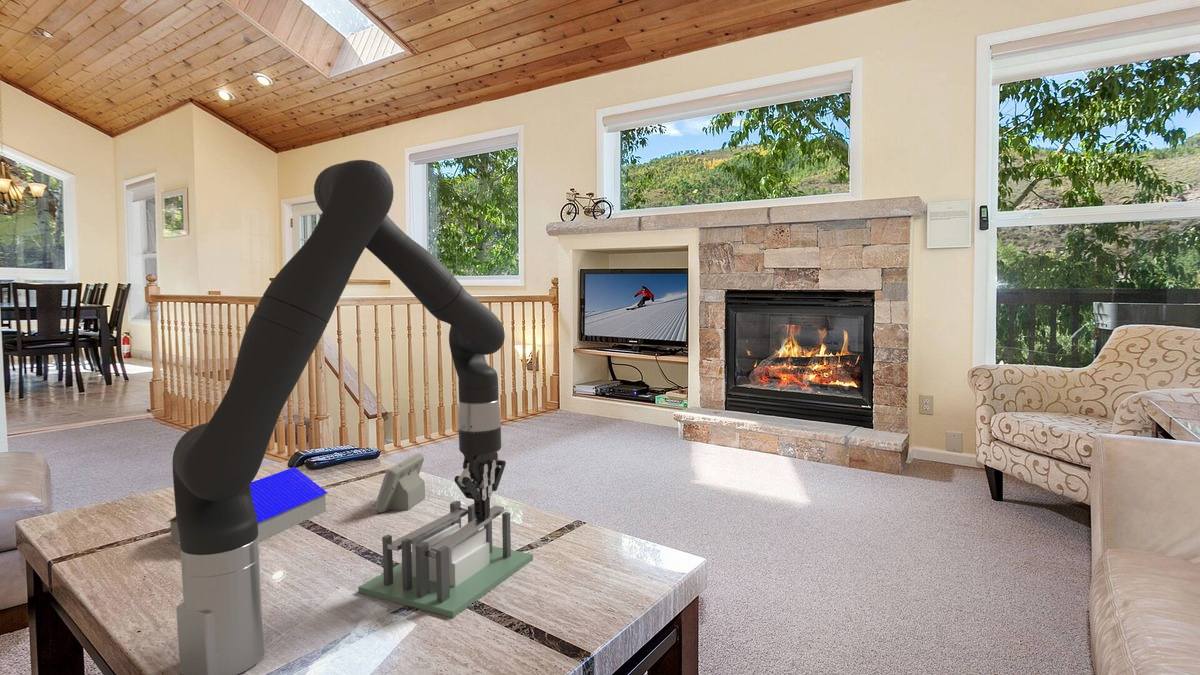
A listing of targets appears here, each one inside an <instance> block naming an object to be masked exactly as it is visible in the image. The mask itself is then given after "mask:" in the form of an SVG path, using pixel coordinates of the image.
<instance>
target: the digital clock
mask: <svg viewBox="0 0 1200 675" xmlns="http://www.w3.org/2000/svg"><path fill="white" fill-rule="evenodd" d="M424 459H425V457H424V454H422V453H420V452H418V453H413V454H412V455H410V456H408V457H406V458H405V459H403V460H401V461H400V462H397V463H396V464H393V465H392V466H390V467H389V468H387V470H386V471H385V473H384V477H383V479H382V483H381V486H380V489H379V493H378V494H377V495H378V496H377V497H376V501H375V504H374V509H375V511H376V513H385V512H386V511H388V510H393V511H394V510H395V511H397V510H398V511H409V510H410V509H412V508H414V506H416V505H417V504H418V503H420V502H422V501H423V500H424V499H425V498H426V484H425V480H424V479H423V478H421V476H420V472H421V470H422V468H423V467H422V466H423V463H424V461H425V460H424Z"/></svg>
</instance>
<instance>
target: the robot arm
mask: <svg viewBox="0 0 1200 675" xmlns="http://www.w3.org/2000/svg"><path fill="white" fill-rule="evenodd" d="M394 194H395V193H394V185H393V182H392V179H391V176H390V174H389V173H388V171H386V169H385V168H384V167H383V165H381V164H379V163H377V162H375V161H373V160H367V159H353V160H348V161H344V162H341V163H336V164H333V165H330V166H328V167H326V168H324V169H323V170H321V172H320V173H319V174H318V175H317V177H316V179H315V181H314V185H313V196H314V199H315V201H316V205H317V206H318V208H319V209H320V211H321V212H322V213H321V216H320V217H319V219H318V222H317V224H316V226H315V227H314V229H313V231H312V233H311V234H310V235H309V237H308V239H307V240H306V241H305V242H304V244H303V245H302V246H301V247H300V248H299V250H297V252H296V253H295V254H293V256H292V257H291V258H290V259H289V260H288V261H287V263H286V264H285V265H284V266H283V267H281V269H280V270H279V272H278V273H277V274H276V275H275V276H274V278H273V279H272V280H271V282H270V283H269V285H268V286H267V288H266V290H265V291H264V293H263V296H261V297H260V298H261V299H260V300H259V302H258V304H257V306H256V307H255V309H254V312H253V313H252V316H251V317H250V319H249V322H248V323H247V326H246V327H245V329H244V333H243V337H242V340H241V343H240V346H239V349H238V354H237V358H236V361H235V366H234V370H233V374H232V377H231V380H230V382H229V385H228V388H227V390H226V392H225V394H224V396H223V398H222V399H221V401H220V403H219V405H218V406H217V409H216V410H215V412H214V414H212V416H211V418H210V420H209V421H208V422H206V423H201V424H198V425H196V426H194V427H192V428H191V429H189V430H188V431H186V432H185V433H184V434H183V435H182V436H181V437H180V439H179V440H178V441H177V443H176V445H175V447H174V451H173V454H172V463H171V464H172V479H173V482H172V483H173V494H174V495H173V496H174V504H175V505H174V506H175V516H176V520H177V526H178V531H179V537H180V543H179V548H180V563H181V564H180V565H181V566H180V567H181V581H182V582H181V583H182V598H183V601H182V603H179V604H178V605H177V606H176V609H175V610H176V623H177V624H176V625H177V626H176V627H177V639H178V640H177V641H178V658H179V673H180V674H181V675H239V674H242V673H243V672H246V671H247V670H249V669H251V668H253V667H254V666H255V665H256V664H258V663H259V662H260V661H261V660H262V658H263V656H264V653H265V648H264V647H265V646H264V645H265V644H264V643H265V642H264V628H263V625H264V623H263V609H262V608H263V603H262V586H261V584H262V583H261V568H260V567H261V565H260V546H259V543H260V542H259V541H258V520H257V515H256V512H255V509H254V505H253V501H252V495H251V484H250V483H251V482H254V480H255V478H256V476H257V474H258V473H259V470H260V468H261V467H262V466H261V465H262V463H263V460H264V457H265V454H266V453H267V449H268V446H269V444H270V441H271V438H272V435H273V433H274V430H275V428H276V425H277V422H278V419H279V417H280V415H281V412H282V410H283V408H284V406H285V405H286V403H287V401H288V399H289V397H290V396H291V394H292V392H293V390H294V388H295V387H296V384H297V383H298V382H299V380H300V379H301V378H300V377H301V376H302V374H303V372H304V370H305V368H306V366H307V364H308V362H309V360H310V358H311V356H312V354H313V353H314V351H315V350H316V349H317V348H316V347H317V346H318V343H319V342H320V340H321V338H322V336H323V335H324V332H325V330H326V328H327V326H328V324H329V322H330V320H331V317H332V315H333V312H334V311H335V308H336V306H337V305H338V303H339V301H340V299H341V297H342V294H343V292H344V290H345V288H346V286H347V285H348V282H349V280H350V278H351V276H352V273H353V271H354V269H355V267H356V265H357V263H358V261H359V259H360V258H361V256H362V254H363V252H364V250H365V249H367V250H368V251H369V252H370V253H371V254H372V255H374V256H375V257H376V258H377V259H378V260H379V261H380V262H381V263H382V264H383V265H384V266H385V267H387V269H389V270H390V272H392V274H394V275H395V277H396V278H397V279H398V280H399V281H400V282H401V283H403V285H405V287H406V288H407V290H409V291H410V292H411V293H412V294H413V295H414V296H415V298H416V299H417V300H418V301H419V302H420V303H421V305H422V306H423V307H424V308H425V309H426V310H427V311H428V312H429V313H430V315H432V316H433V317H434V318H436V319H437V320H438V321H441V322H444V323H446V324H449V325H450V327H449V331H448V332H449V333H448V343H449V349H450V354H451V358H452V362H453V364H454V365H453V366H454V368H455V371H456V374H457V378H458V379H457V380H458V410H457V411H458V412H457V426H458V449H459V451H460V453H461V454H462V455H463V456H464V459H463V462H462V469H463V471H462V472H461V474H460V475H456V476H455V477H454V482H455V484H456V486H457V487H458V488H459V490H460V491H461V493H462V494H463V495H464V497H465V499H469V500H470V499H471V500H473V504H474V511H475V517H476V519H480V520H485V519H487V518H488V517H489V516H490V508H491V497H492V496H493V492H496V491H497V490H498V488H499V484H500V481H501V479H502V477H503V474H504V471H505V468H506V464H507V462H506V460H502V459H500V458H499V454H498V452H499V451H500V450H501V448H502V424H501V423H502V422H501V420H502V419H501V417H502V415H501V408H500V401H499V400H500V399H499V398H500V397H499V376H498V373H497V371H496V369H495V368H493V367H492V366H490V365H489V364H488V362H487V359H486V355H492V354H495V353H497V352H498V351H499V350H500V349H501V348H502V347H503V345H504V342H505V340H506V339H505V337H506V336H505V330H504V326H503V323H502V322H501V320H500V319H499V317H497V315H496V314H494V312H493V311H491V310H490V309H489V308H488V307H487V306H486V305H484V304H483V303H482V302H481V301H479V300H478V299H477V298H476V297H474V296H472V295H471V294H470V293H469V292H468V291H466V289H465V287H463V285H462V284H461V283H460V282H459V281H458V280H457V278H456V277H455V275H453V273H452V272H451V271H450V270H449V269H448V268H447V267H446V266H445V264H443V262H441V261H440V260H439V259H438V258H437V257H435V256H434V255H433V254H432V253H431V252H430V251H429V250H427V249H426V248H424V246H422V245H421V244H419V243H418V242H416V241H415V240H414V239H412V238H411V236H409V235H408V234H406V233H405V232H404V231H403V230H402V229H401V228H400V227H399V226H398V225H397V224H396V223H395V222H394V220H392V219H391V218H390V217H389V215H388V213H389V211H390V209H391V207H392V204H393V201H394Z"/></svg>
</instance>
